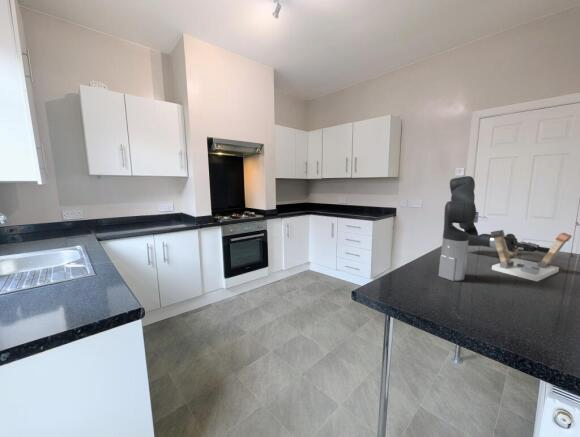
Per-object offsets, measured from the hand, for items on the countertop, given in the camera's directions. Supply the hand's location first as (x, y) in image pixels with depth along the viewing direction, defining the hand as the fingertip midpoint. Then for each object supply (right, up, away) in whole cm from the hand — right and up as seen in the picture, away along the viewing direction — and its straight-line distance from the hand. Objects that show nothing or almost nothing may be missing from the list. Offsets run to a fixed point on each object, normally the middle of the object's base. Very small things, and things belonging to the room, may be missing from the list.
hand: (549, 250), depth 113 cm
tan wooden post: (-18, -7, +2) cm, 20 cm away
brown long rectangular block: (-1, -7, +2) cm, 7 cm away
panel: (-9, -10, +2) cm, 14 cm away
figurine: (+6, -6, +28) cm, 29 cm away
